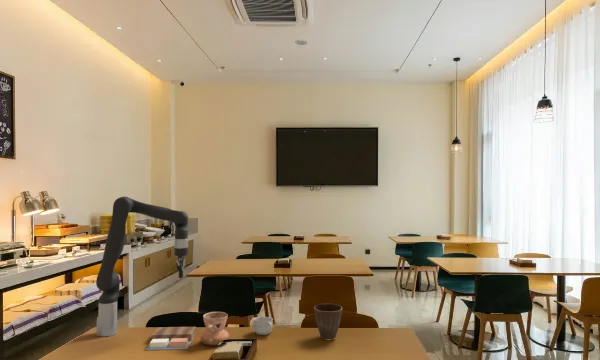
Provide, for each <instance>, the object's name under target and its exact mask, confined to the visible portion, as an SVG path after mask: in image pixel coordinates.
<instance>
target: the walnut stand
mask: <svg viewBox="0 0 600 360" xmlns="http://www.w3.org/2000/svg"><path fill="white" fill-rule="evenodd" d="M196 334H197V327H196V326H168V327H167V326H165V327H164V326H163V327H157V328H156V330H155V331H153V333H152V334H151V340H152V339H169V342H170V341H171V339H172V338H188V341H191V343H192V341H193V340H194V338H195V336H196Z"/></svg>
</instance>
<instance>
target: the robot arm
mask: <svg viewBox="0 0 600 360" xmlns="http://www.w3.org/2000/svg"><path fill="white" fill-rule="evenodd" d="M131 213H135V214H140V215H144V216H148V217H150V218H153V219H156V220H161V221H167V222H172V223H173V224H174V223H175V229H174V230H175V231H174V242H173V249H174V250H173V255H174V256H175V257H177V259H176V262H175V264H176V265H175V266H176V269H177V272H178V278H179V279H183V278H184V271H185V268H186V261H187V260H186V257H185V256H188V255H189V241H188V240H189V239H188V237H189V233H188V225H189V224H188V223H189V216H188V213H187V212H186V211H182V210H181V211H180V210H175V209H171V208H169V207H163V206H160V205H154V204H149V203H145V202H141V201H138V200H135V199H133V198H130V197H128V196H120V197H118V198H116V199H115V200H114V202H113V205H112V215H111V222H110V226H109V229H108V232H107V236H106V240H105V245H104V251H103V255H102V261H101V264H100V268H99V271H98V273H97V276H96V281H95V283H96V287H97V289H98V290H99V291H101V292H102V293H101V295H100V296H99V297H98V314H97V315H98V316H97V318H96V336H97V337H111V336H114V335H116V334H117V332H118V331H117V330H118V299H119V296H120V284H121V283H120V282H121V280H120V275H119V273H118V272H116V271H114V270H115V266H116V264H117V262H118V261H119V259H120V256H121V255H122V253H123V251H124V248H125V244H126V233H127V232H126V224H127V220H128V216H129V214H131Z"/></svg>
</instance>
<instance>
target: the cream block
mask: <svg viewBox="0 0 600 360" xmlns="http://www.w3.org/2000/svg"><path fill="white" fill-rule="evenodd" d="M168 344H169V339H152V338H151V341H150V342H149V345H150V348H159V347H167V346H168Z"/></svg>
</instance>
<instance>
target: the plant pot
mask: <svg viewBox="0 0 600 360" xmlns="http://www.w3.org/2000/svg"><path fill="white" fill-rule="evenodd" d="M313 309H314V317H315V322H316V326H317V330H318V333H319V335H320V337H321V339H322V338H323V339H322V340H324V339H333V338H335V339H336V337H337V333H338V331H339V327H340V323H341V319H342V314H343V307H342V306H341V305H339V304H335V303H318V304H316V305H314V307H313ZM333 340H334V339H333Z"/></svg>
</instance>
